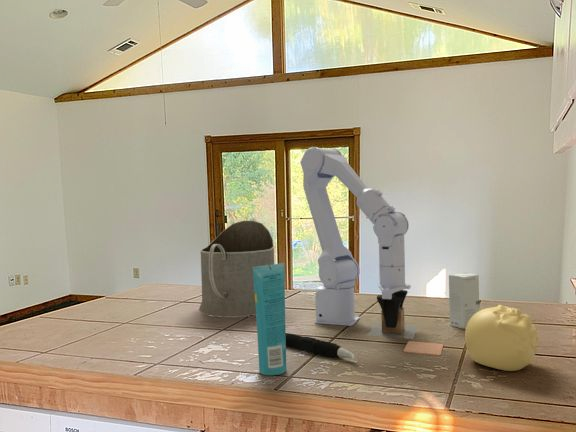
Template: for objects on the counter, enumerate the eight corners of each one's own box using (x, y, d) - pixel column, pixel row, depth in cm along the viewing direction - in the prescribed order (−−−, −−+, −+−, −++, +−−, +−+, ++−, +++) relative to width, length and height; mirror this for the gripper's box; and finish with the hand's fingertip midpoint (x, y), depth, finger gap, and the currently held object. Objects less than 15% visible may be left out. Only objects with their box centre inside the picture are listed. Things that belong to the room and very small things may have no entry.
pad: (403, 352, 92) (403, 351, 92) (408, 342, 99) (408, 341, 99) (440, 356, 90) (440, 354, 90) (443, 345, 96) (443, 344, 96)
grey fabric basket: (287, 300, 145) (285, 219, 144) (256, 327, 114) (253, 225, 114) (217, 298, 151) (215, 221, 150) (170, 324, 120) (166, 226, 119)
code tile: (366, 335, 105) (366, 334, 105) (376, 324, 114) (376, 323, 114) (412, 339, 101) (412, 338, 101) (418, 327, 110) (418, 326, 110)
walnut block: (381, 332, 106) (381, 310, 106) (385, 327, 110) (385, 306, 110) (401, 334, 104) (401, 311, 104) (404, 329, 109) (404, 307, 108)
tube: (276, 362, 88) (273, 261, 88) (296, 368, 85) (293, 263, 85) (248, 374, 83) (245, 266, 82) (268, 380, 79) (265, 268, 79)
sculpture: (536, 381, 76) (535, 316, 76) (459, 369, 82) (458, 308, 82) (541, 360, 86) (540, 302, 85) (472, 351, 92) (471, 296, 92)
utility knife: (364, 362, 88) (364, 346, 88) (352, 368, 85) (352, 352, 85) (280, 342, 102) (279, 328, 102) (267, 346, 99) (267, 332, 99)
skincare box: (464, 329, 107) (463, 277, 107) (448, 325, 111) (447, 274, 111) (481, 325, 111) (480, 274, 110) (464, 321, 114) (463, 272, 114)
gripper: (404, 270, 99) (406, 334, 99) (414, 261, 112) (415, 318, 112) (371, 269, 101) (373, 331, 102) (384, 261, 115) (385, 316, 115)
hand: (393, 324), depth 107 cm, fingers closed on walnut block, 4 cm apart
